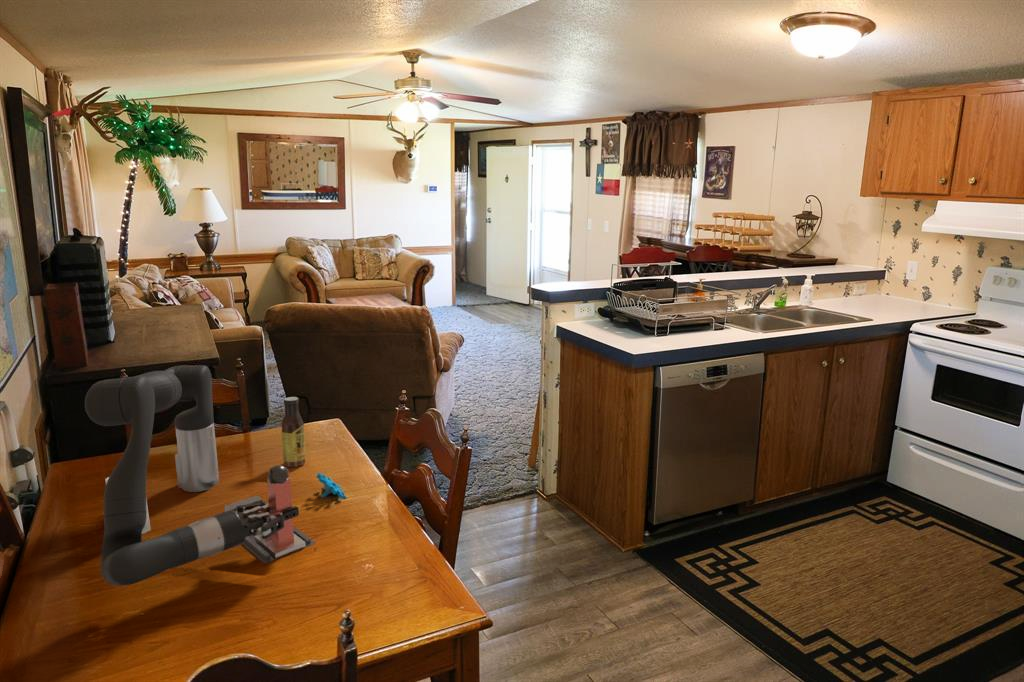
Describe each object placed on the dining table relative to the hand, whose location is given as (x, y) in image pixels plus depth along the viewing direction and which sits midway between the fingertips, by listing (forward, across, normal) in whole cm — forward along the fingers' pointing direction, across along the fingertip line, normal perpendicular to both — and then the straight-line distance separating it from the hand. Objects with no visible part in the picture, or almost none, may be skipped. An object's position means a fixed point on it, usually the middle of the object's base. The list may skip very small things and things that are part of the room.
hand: (292, 507), depth 149 cm
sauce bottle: (+22, +43, +10) cm, 49 cm away
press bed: (-3, +10, +10) cm, 15 cm away
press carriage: (-3, +2, +8) cm, 9 cm away
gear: (+19, +16, +10) cm, 26 cm away
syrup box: (-24, +32, +10) cm, 42 cm away
